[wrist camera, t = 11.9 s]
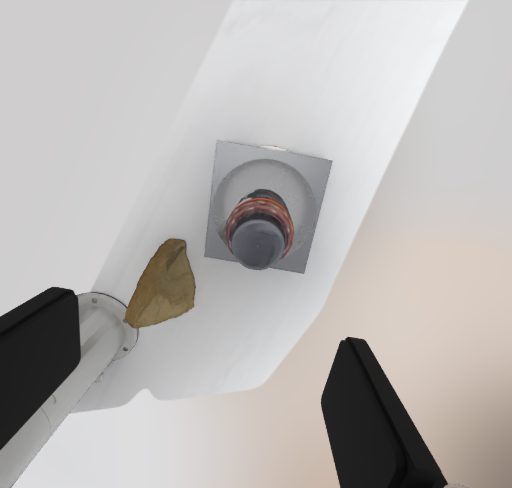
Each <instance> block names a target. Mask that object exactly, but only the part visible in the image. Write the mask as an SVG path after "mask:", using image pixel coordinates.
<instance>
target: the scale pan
mask: <svg viewBox="0 0 512 488" xmlns="http://www.w3.org/2000/svg"><path fill="white" fill-rule="evenodd" d="M257 189H267V190H271V191H273V192H275V193H277V194H278V195H279V196H280V197H281V198H282V199H283V201H284V202H285V204H286V206H287V208H288V211H289V214H290V217H291V219H292V222H293V226H294V240H293V244H292V247H291V249H290V250H289V252H288V253H287V255H286V256H285V257H287V256H288V255H290V254H292V253H293V252H295V251H296V250H297V249H299V248H300V247H301V246H302V245H303V243H304V242H305V241H306V240H307V238H308V237H309V235H310V233H311V231H312V229H313V226H314V223H315V217H316V203H315V198H314V195H313V192H312V189H311V187H310V185H309V184H308V182H307V181H306V179H305V178H304V177H303V176H302V175H301V174H300V173H299V172H298V171H297V170H296V169H294V168H293V167H291V166H289V165H288V164H285V163H283V162H280V161H276V160H271V159H257V160H252V161H248V162H245V163H243V164H241V165H239V166H237V167H236V168H234V169H233V170H232V171H230V172H229V173H228V174H227V175H226V176H225V177H224V179H223V180H222V181H221V183H220V184H219V186H218V188H217V190H216V193H215V196H214V200H213V207H212V214H213V221H214V225H215V228H216V231H217V233H218V234H219V236H220V238H221V239H222V241H223V242H224V243H225V244H226V246H227V243H226V240H225V227H226V222H227V220H228V218H229V216H230V214H231V213H232V211H233V210H234V208H235V207H236V206H237V204H238V203H239V201H240V200H241V199H242V198H243V197H244V196H245V195H246V194H247V193H249V192H251V191H253V190H257ZM227 247H228V246H227Z"/></svg>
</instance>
